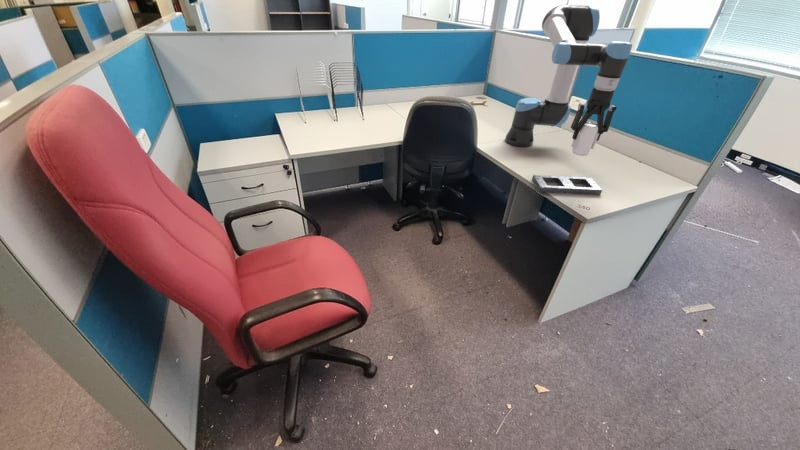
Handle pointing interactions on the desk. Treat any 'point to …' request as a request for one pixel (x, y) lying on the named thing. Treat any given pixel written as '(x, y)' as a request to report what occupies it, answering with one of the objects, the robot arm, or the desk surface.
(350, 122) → the desk surface
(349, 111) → the desk surface
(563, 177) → the holder
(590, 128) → the can
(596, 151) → the desk surface
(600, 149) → the desk surface
